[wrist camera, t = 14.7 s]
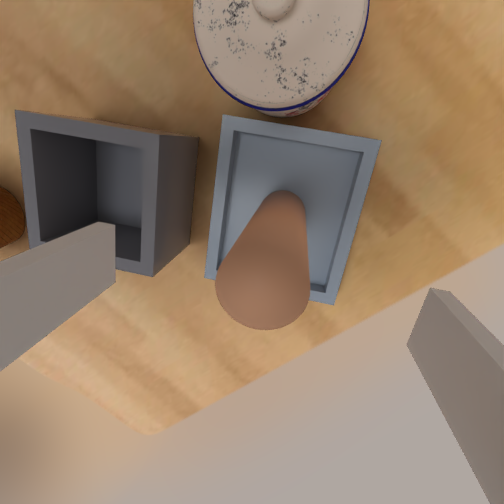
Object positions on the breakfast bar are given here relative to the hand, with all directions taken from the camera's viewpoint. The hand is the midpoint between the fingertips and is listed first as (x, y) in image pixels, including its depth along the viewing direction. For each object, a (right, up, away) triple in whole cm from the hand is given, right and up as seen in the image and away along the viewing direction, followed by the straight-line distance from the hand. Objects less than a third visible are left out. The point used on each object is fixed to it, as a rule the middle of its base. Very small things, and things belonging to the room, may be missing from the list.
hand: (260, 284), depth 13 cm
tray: (+3, +5, +15) cm, 16 cm away
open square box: (-11, +8, +16) cm, 21 cm away
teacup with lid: (+3, +18, +11) cm, 21 cm away
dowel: (+2, +5, +14) cm, 15 cm away
